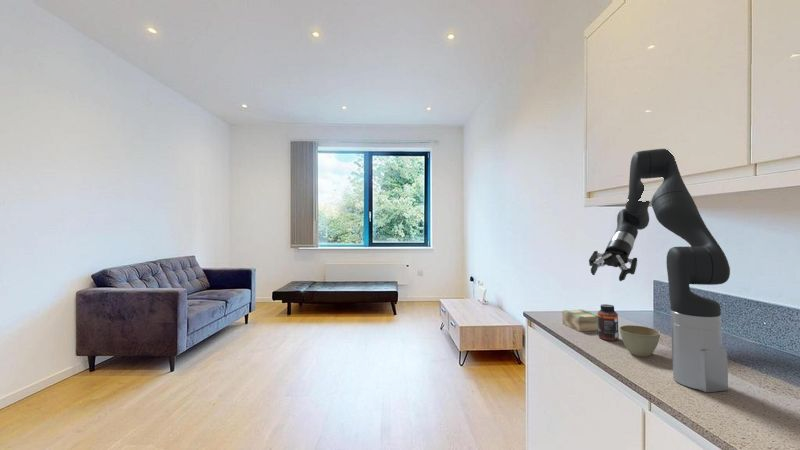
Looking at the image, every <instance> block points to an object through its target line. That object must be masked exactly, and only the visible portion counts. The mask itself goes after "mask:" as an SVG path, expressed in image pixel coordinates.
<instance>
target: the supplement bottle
mask: <svg viewBox="0 0 800 450" xmlns="http://www.w3.org/2000/svg"><path fill="white" fill-rule="evenodd" d="M597 315H598V330H597V331H598V337H599V339H601V340H604V341H609V342H610V341H619V339H620V338H619V337H620V336H619V335H620V334H619V333H620V332H619V314H618V312H616V311H615V306H614V305H613V304H608V303H606V304H604V303H603V304H600V310H597Z"/></svg>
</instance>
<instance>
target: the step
mask: <svg viewBox="0 0 800 450" xmlns="http://www.w3.org/2000/svg"><path fill="white" fill-rule="evenodd" d="M561 313H562V325H564V324H565V326H566V325H567V326H566V327H568V328H571V329H573V330H575V329H576V330H575V331H577V330H578V331H577V332H588V331H598V313H594V312H590V311H587V310H585V309H574V310H573V309H572V310H567V309H565V310H562V311H561Z"/></svg>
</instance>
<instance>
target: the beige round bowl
mask: <svg viewBox="0 0 800 450" xmlns="http://www.w3.org/2000/svg"><path fill="white" fill-rule="evenodd" d="M618 330H619V333H620V334H619V335H620V337H621V339H622V341H623V344H624V346H625V347H626V349H627V351H628V352H629V353H630V354H632V355H634V356H637V357H641V358H643V357H644V358H645V357H646V358H647V357H650V356H651V355H652V354H653V353H654V352H655V350H656V348H657V346H658V345H659V341H660V338H661V337H660V336H661V332H660V331H659V330H657V329H655V328H653V327H648V326H643V325H635V324H633V325H632V324H626V325H622V326H621V325H620V326H619V327H618Z"/></svg>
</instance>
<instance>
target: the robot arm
mask: <svg viewBox="0 0 800 450" xmlns="http://www.w3.org/2000/svg"><path fill="white" fill-rule="evenodd" d="M666 149H667V148H657V149H646V150H638V151H636V152H634V153H633V155H632V157H631V160H630V166H629V178H628V179H629V180H628V181H629V182H628V196H627V199H629V201H628V202H627V201H626V202H627V203H625V208H622V209H620V210H619V212H618V213H617V215H616V217H617V218H616V222H617V223H616V224H617V225H616V229H615V230H614V231H615V232H614V234H613V235H612V236H611V238H610V240H609V242H608V244H607V246H606V248H605V250H604V252H602V253H600V252H598V250H595V251H593V253H592V254H591V256H590V257H589V259H588V266H590V267H591V268H590V273H591V275H593V276H595V275H596V273H597V271H598V269H599V268H601V267H602V268H603V267H605V266H606V267H607V266H608V267H614V268H619V270H621V271H620V273H619V276H618V281H619V282H623V281H624V280H625V279H626V277H627V275H629V274H630V275H635V273H636V271H637V270H636V269H637V265H638V258H637V257H633V258H629V257H630V255H631V253H632V251H633V248H634V245H635V241H636V239H637V237H638V233H639V231H640V230H644V229H646V228H647V227H648V225H649V223H650V214H649V206H650V203H651V207H652V210H653V213H654V216H655V218H656V220H657V221H658V223H659V224H660V225H662V227H664V228H665V229H667V230H668V231H670V232H671V233H673V234H674V235H676V236H678V237H679V238H680V239H683V240H684V241H685V242H686V243H687V244H689V245H690V246H673V247H671V248H669V250H668V251H667V254H666V261H665V262H666V272H667V281H668V293H669V294H668V295H669V304H670V328H671V329H670V330H671V331H670V332H671V333H670V334H671V355H672V356H671V357H672V360H671V361H672V377H673V378H672V379H673V380H674V381H675V382H677V383H679V384H680V385H682V386H684V387H688V388H690V389H695V390H699V391H702V392H704V393H714V392H724V391H729V370H728V349H726V348H725V347H723V339H722V335H723V334H722V315H721V304H720V303H719V302H718V301H715V300H713V299H710V298H707V297H704V296H701V295H698V294H696V293H694V292H693V291H692V290H691V288H690V285H698V286H699V285H700V286H701V285H702V286H703V285H704V286H705V285H706V286H710V285H711V286H715V285H723V284H725V283H727V282H728V280H729V279H730V275H731V267H730V263H729V260H728V258H727V256H726V254H725V253H724V250H723V249H722V247H721V246H720V245H719V243H718V242H717V241H716V238H715V236H713V234H712V233H711V231H710V229H709V227H707V225H706V223H705V222H704V220H703V218H702V216H701V214H700V211H699V210H698V207H697V205H696V203H695V200H694V198H693V197H692V195H691V193H690V192H689V190H688V188H687V186H686V184H685V183H684V180H683V177H682V176H681V172H680V170H679V166H678V164H677V161H675V160H676V158H675V156H673V155H674V154H673V155H672V154H671V153H670V152H669V151H668V150H669V149H668V150H666ZM661 177H663V178H664V179H663V178H662V179H663V181H662V183H661V184H660V185H659V187H658V188H657V190H656V191H655V192H654V194H653V195H652V197H651V201H650V202H649V201H646V202H642V201H638V200H639V199H640V198H641V195H642V193H643V191H644V185H645V184H644V183H643V182H642V180H643V179H644V180H645V179H647V180H648V179H658V178H661ZM643 184H644V185H643ZM627 263H629V264H630V267H628V266H627V265H626V264H627Z"/></svg>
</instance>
